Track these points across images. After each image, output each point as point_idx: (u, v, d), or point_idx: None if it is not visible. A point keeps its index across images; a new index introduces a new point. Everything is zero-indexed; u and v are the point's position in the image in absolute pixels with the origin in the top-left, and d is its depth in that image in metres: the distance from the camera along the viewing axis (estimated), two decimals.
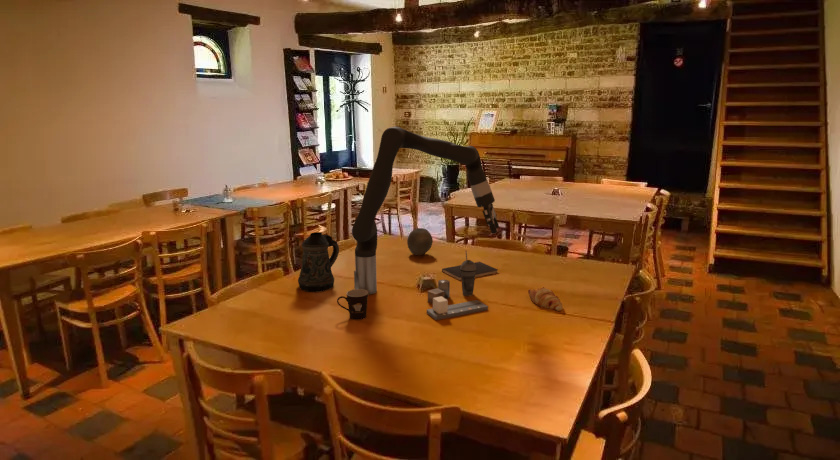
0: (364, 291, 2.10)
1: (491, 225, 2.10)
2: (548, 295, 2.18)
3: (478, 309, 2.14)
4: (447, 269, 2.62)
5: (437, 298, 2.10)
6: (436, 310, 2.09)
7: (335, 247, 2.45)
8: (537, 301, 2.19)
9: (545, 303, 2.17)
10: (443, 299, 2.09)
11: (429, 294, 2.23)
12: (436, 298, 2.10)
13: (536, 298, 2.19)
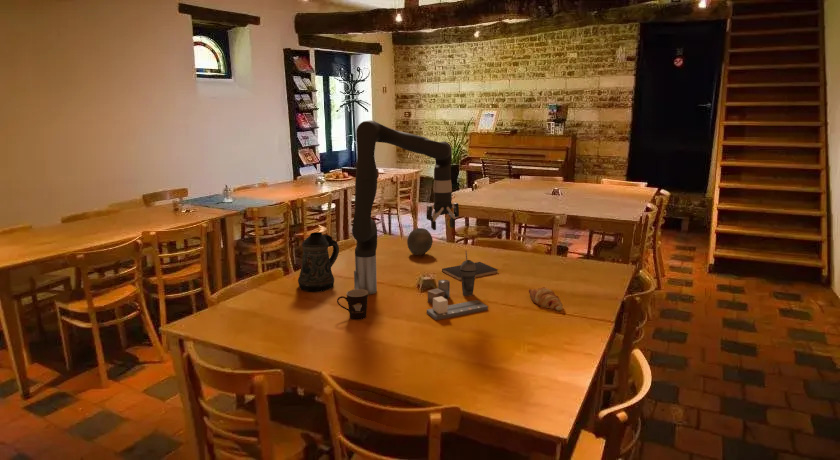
0: (364, 291, 2.10)
1: (431, 221, 2.19)
2: (548, 295, 2.18)
3: (478, 309, 2.14)
4: (447, 269, 2.62)
5: (437, 298, 2.10)
6: (436, 310, 2.09)
7: (335, 247, 2.45)
8: (537, 301, 2.19)
9: (545, 303, 2.17)
10: (443, 299, 2.09)
11: (429, 294, 2.23)
12: (436, 298, 2.10)
13: (536, 298, 2.19)
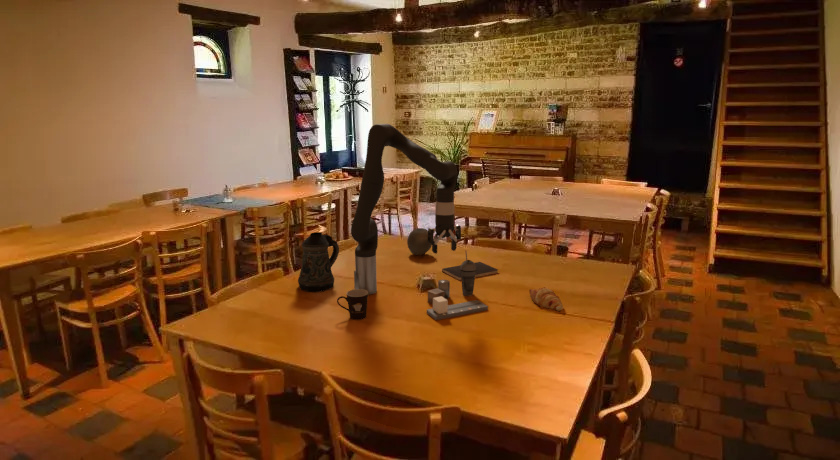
0: (364, 291, 2.10)
1: (432, 244, 2.09)
2: (549, 295, 2.18)
3: (478, 309, 2.14)
4: (447, 269, 2.62)
5: (437, 298, 2.10)
6: (436, 310, 2.09)
7: (335, 247, 2.45)
8: (537, 301, 2.19)
9: (545, 303, 2.17)
10: (443, 299, 2.09)
11: (429, 294, 2.23)
12: (436, 298, 2.10)
13: (536, 298, 2.19)
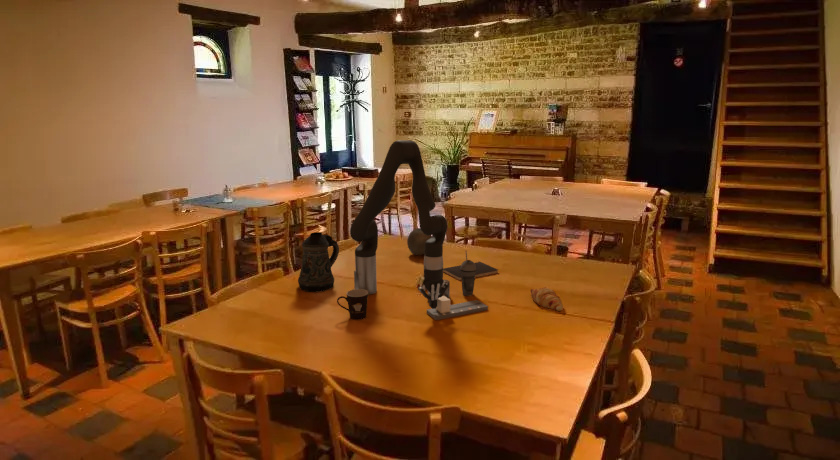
0: (364, 291, 2.10)
1: (430, 300, 2.07)
2: (549, 295, 2.18)
3: (478, 309, 2.14)
4: (447, 269, 2.62)
5: (440, 297, 2.11)
6: (439, 309, 2.09)
7: (335, 247, 2.45)
8: (538, 301, 2.19)
9: (546, 303, 2.17)
10: (446, 298, 2.09)
11: None
12: (439, 297, 2.10)
13: (537, 298, 2.19)
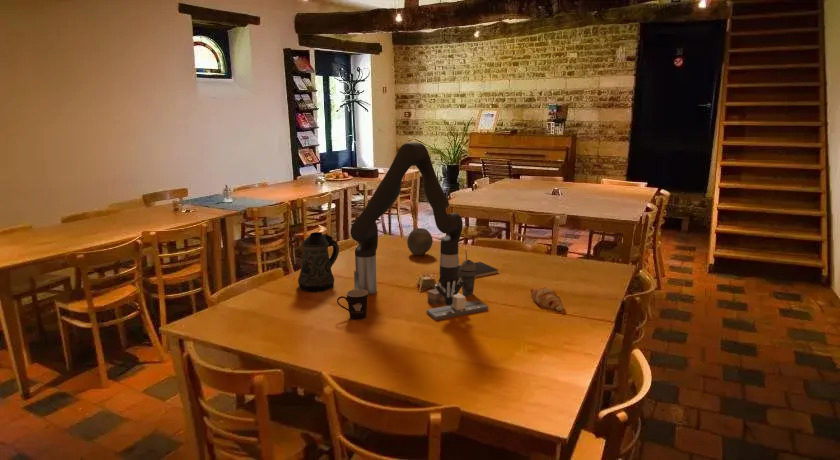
0: (364, 291, 2.10)
1: (445, 297, 2.10)
2: (549, 295, 2.18)
3: (478, 309, 2.14)
4: None
5: None
6: (454, 306, 2.12)
7: (335, 247, 2.45)
8: (538, 301, 2.19)
9: (546, 303, 2.17)
10: (461, 296, 2.12)
11: (429, 294, 2.23)
12: (454, 295, 2.13)
13: (537, 298, 2.19)
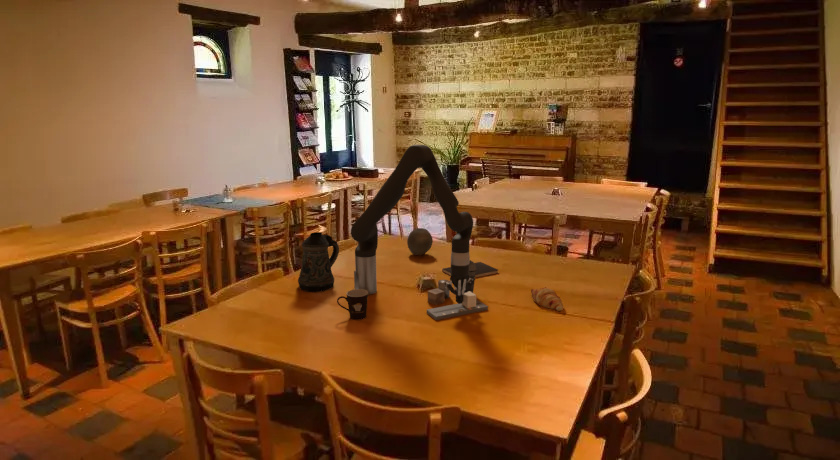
0: (364, 291, 2.10)
1: (456, 295, 2.12)
2: (549, 295, 2.18)
3: (478, 309, 2.14)
4: (447, 269, 2.62)
5: None
6: (464, 304, 2.14)
7: (335, 247, 2.45)
8: (538, 301, 2.19)
9: (546, 303, 2.17)
10: (472, 294, 2.14)
11: (429, 294, 2.23)
12: (465, 293, 2.15)
13: (537, 298, 2.19)
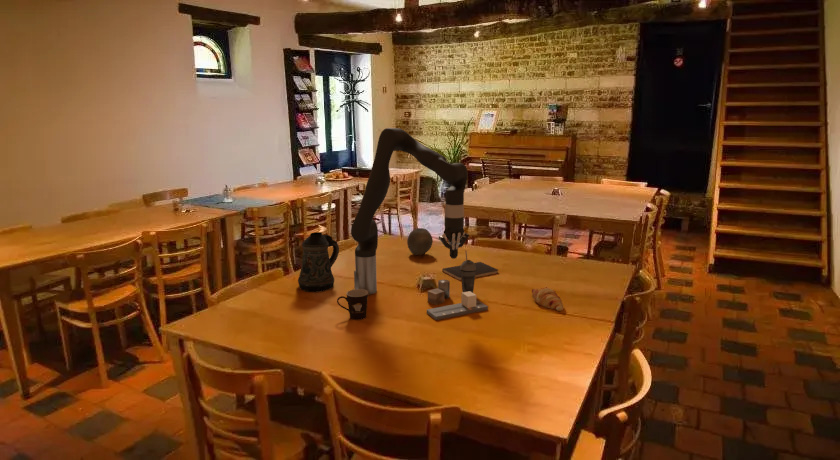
0: (364, 291, 2.10)
1: (450, 249, 2.06)
2: (550, 295, 2.18)
3: (478, 309, 2.14)
4: (447, 269, 2.62)
5: (466, 292, 2.16)
6: (465, 304, 2.14)
7: (335, 247, 2.45)
8: (538, 300, 2.19)
9: (546, 302, 2.17)
10: (472, 294, 2.14)
11: (429, 294, 2.23)
12: (465, 293, 2.15)
13: (537, 297, 2.19)
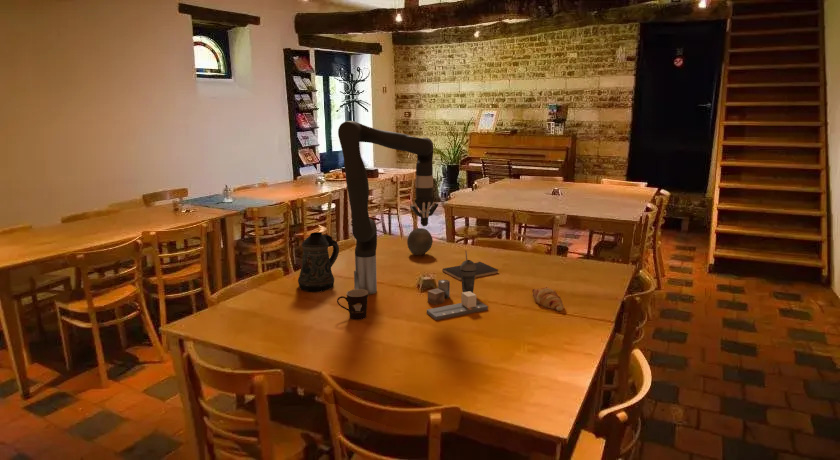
0: (364, 291, 2.10)
1: (421, 218, 2.25)
2: (550, 295, 2.18)
3: (478, 309, 2.14)
4: (447, 269, 2.62)
5: (466, 292, 2.16)
6: (465, 304, 2.14)
7: (335, 247, 2.45)
8: (539, 300, 2.19)
9: (546, 302, 2.17)
10: (472, 294, 2.14)
11: (429, 294, 2.23)
12: (465, 293, 2.15)
13: (538, 297, 2.20)
